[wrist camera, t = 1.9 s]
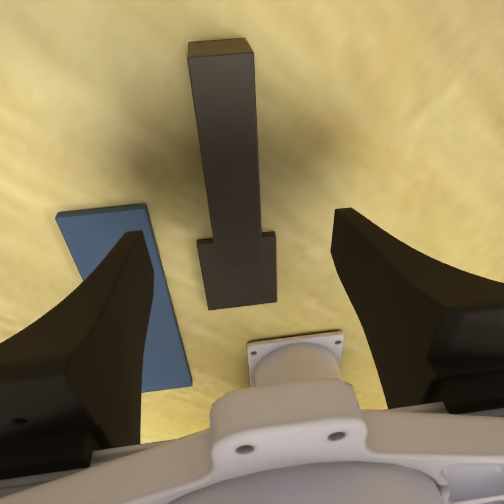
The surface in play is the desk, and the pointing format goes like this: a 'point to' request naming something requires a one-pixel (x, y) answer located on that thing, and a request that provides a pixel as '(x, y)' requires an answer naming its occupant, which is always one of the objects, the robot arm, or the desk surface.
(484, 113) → the desk surface
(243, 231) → the tall dark brown pillar
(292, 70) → the desk surface
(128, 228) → the blue board
